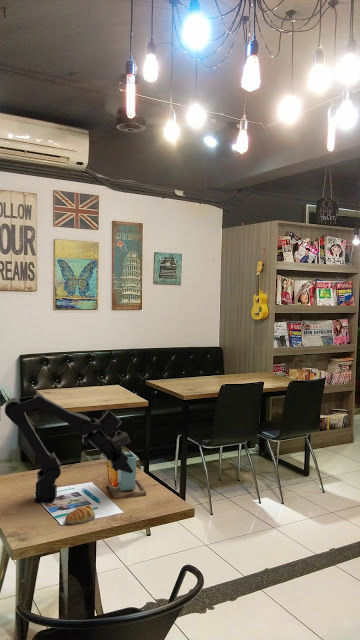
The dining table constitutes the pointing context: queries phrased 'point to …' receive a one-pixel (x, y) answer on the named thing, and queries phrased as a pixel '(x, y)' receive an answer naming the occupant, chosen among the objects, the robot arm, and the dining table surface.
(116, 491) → the tray
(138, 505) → the dining table surface
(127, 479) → the light blue square vase
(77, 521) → the pastry
